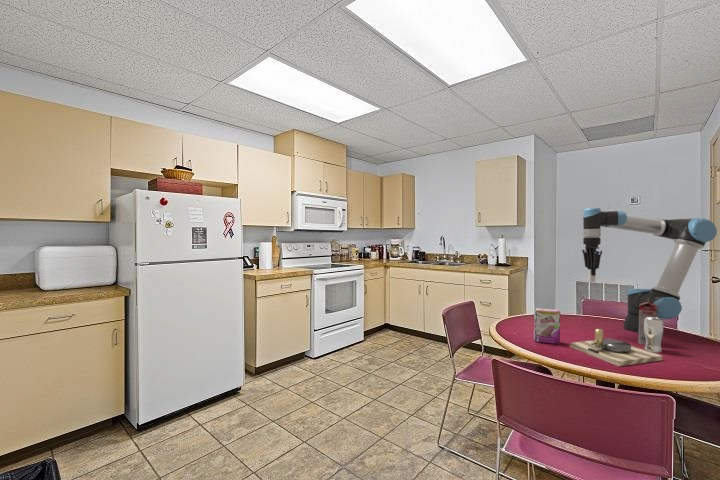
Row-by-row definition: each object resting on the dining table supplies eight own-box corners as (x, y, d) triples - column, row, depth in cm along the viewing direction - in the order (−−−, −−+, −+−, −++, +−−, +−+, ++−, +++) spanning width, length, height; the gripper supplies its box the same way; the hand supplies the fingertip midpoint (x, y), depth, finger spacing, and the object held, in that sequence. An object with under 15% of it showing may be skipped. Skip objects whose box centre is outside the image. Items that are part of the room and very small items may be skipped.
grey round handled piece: (612, 342, 161) (612, 323, 161) (638, 351, 150) (638, 331, 149) (580, 346, 158) (580, 326, 157) (603, 355, 146) (604, 334, 146)
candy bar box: (535, 342, 170) (535, 310, 169) (533, 339, 175) (533, 307, 174) (560, 344, 166) (560, 311, 166) (558, 341, 171) (558, 309, 171)
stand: (609, 342, 169) (609, 337, 169) (662, 360, 146) (662, 354, 145) (569, 347, 163) (569, 341, 163) (618, 366, 140) (618, 359, 140)
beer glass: (666, 353, 153) (667, 320, 153) (649, 352, 155) (649, 320, 154) (656, 348, 160) (657, 316, 160) (639, 347, 162) (640, 316, 161)
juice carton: (638, 343, 167) (639, 299, 166) (639, 340, 172) (640, 297, 171) (656, 346, 162) (657, 301, 162) (656, 343, 167) (657, 299, 167)
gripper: (577, 237, 185) (577, 279, 186) (592, 237, 172) (592, 283, 173) (591, 236, 185) (591, 279, 186) (607, 237, 172) (607, 283, 173)
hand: (591, 281), depth 179 cm, fingers closed
